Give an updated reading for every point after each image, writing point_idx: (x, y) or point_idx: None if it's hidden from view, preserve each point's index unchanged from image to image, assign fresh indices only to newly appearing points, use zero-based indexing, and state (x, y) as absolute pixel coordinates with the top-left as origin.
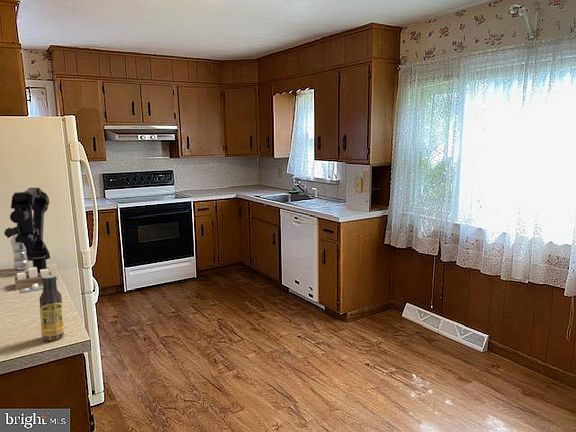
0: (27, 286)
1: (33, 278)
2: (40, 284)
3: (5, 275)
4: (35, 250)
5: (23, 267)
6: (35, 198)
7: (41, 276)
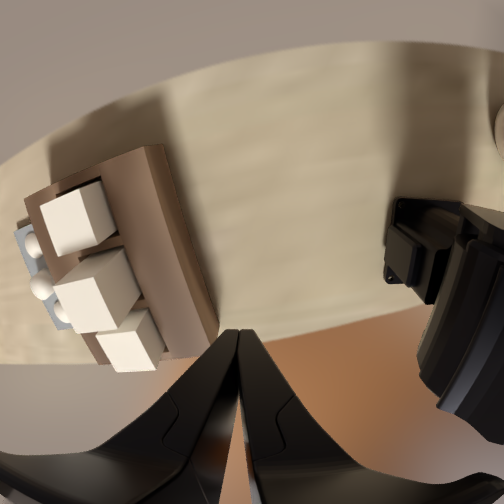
0: None
1: None
2: None
3: (430, 47)
4: (459, 335)
5: (500, 145)
6: None
7: None
